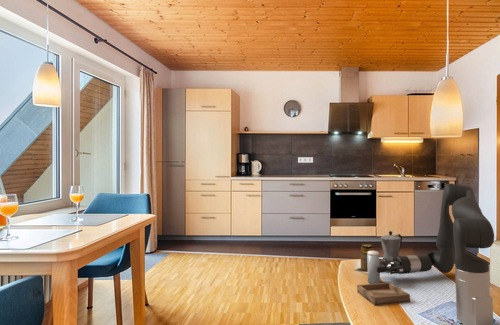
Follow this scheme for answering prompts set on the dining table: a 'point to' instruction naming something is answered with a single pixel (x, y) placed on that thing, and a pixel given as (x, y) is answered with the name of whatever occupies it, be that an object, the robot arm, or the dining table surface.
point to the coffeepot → (391, 245)
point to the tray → (383, 293)
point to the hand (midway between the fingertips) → (372, 267)
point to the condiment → (364, 257)
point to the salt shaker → (373, 267)
